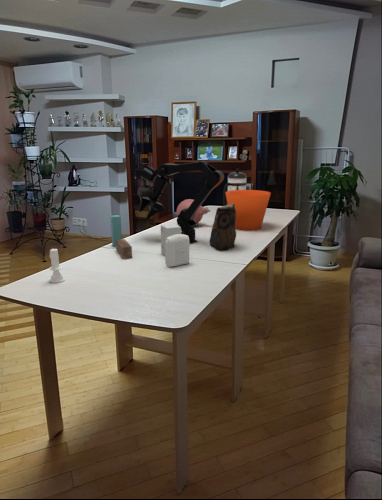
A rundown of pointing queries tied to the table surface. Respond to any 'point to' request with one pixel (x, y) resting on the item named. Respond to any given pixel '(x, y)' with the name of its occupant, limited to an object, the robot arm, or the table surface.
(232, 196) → the flowerpot
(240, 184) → the coffee press
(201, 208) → the balloon
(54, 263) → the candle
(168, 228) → the small box
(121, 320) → the table surface
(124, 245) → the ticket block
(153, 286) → the table surface
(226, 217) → the owl
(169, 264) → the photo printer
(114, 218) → the tall teal pillar
